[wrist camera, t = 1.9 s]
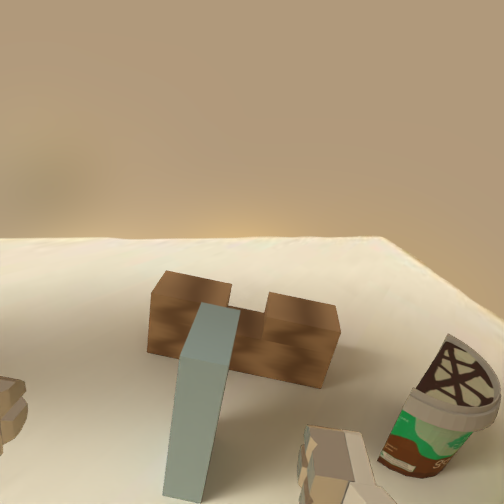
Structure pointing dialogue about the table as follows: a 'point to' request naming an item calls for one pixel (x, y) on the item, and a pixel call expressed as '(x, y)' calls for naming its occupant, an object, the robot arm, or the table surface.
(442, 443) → the food container
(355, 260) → the table surface
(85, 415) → the table surface
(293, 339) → the notched wooden block
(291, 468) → the table surface
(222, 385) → the sage green pillar
